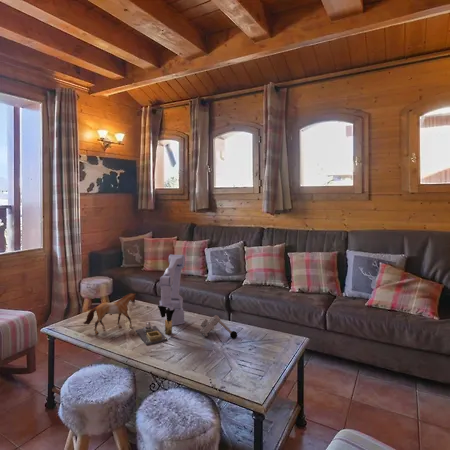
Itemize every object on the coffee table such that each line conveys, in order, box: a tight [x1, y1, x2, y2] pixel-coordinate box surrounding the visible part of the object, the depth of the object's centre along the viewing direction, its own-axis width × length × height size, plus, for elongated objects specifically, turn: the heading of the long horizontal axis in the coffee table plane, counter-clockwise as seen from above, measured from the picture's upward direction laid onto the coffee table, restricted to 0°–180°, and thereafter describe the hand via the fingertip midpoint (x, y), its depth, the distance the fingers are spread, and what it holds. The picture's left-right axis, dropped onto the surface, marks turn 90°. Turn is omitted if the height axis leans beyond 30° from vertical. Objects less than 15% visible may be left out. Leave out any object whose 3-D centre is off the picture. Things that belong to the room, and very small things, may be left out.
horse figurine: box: [82, 292, 137, 334], centre depth 195 cm, size 31×8×21 cm, turn 117°
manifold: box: [135, 321, 168, 346], centre depth 188 cm, size 12×21×6 cm, turn 31°
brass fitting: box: [164, 319, 173, 336], centre depth 191 cm, size 4×4×8 cm
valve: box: [200, 314, 238, 339], centre depth 189 cm, size 10×20×15 cm
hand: (166, 319), depth 188 cm, fingers open, 7 cm apart
